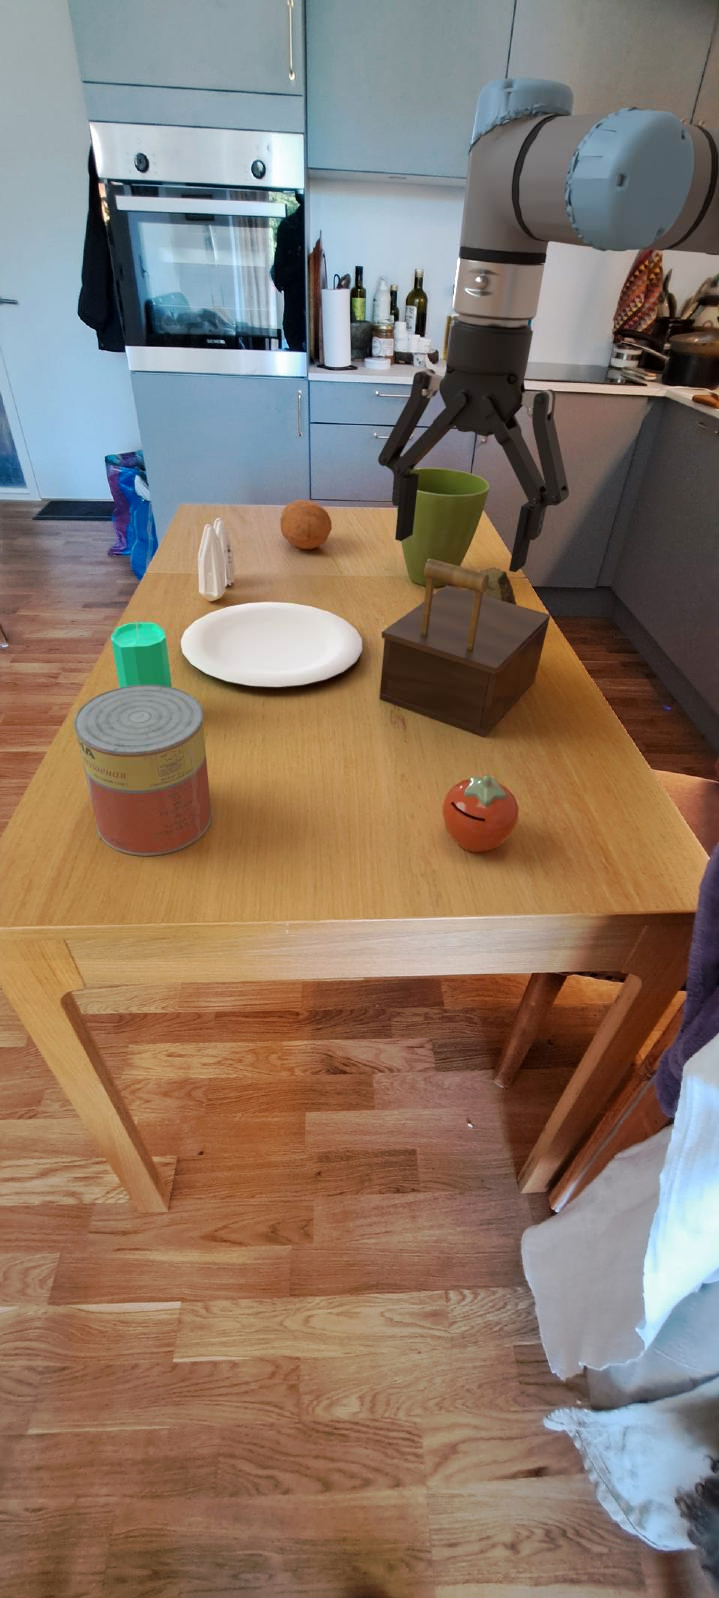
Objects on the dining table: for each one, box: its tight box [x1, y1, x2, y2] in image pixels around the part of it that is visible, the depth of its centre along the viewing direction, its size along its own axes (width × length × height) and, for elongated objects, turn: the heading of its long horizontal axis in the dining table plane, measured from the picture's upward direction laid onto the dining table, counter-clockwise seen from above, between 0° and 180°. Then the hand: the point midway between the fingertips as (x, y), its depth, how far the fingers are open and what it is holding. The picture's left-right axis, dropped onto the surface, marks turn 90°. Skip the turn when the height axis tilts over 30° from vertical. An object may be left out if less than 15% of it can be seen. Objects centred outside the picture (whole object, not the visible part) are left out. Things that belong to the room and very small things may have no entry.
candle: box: [110, 620, 173, 688], centre depth 84 cm, size 6×6×12 cm
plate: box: [180, 601, 363, 689], centre depth 102 cm, size 25×25×2 cm
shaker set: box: [197, 517, 235, 602], centre depth 113 cm, size 12×4×11 cm, turn 177°
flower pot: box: [396, 467, 491, 588], centre depth 121 cm, size 15×15×16 cm
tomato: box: [442, 774, 520, 853], centre depth 71 cm, size 7×7×8 cm
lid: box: [381, 559, 551, 674], centre depth 88 cm, size 18×15×10 cm
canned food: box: [73, 685, 213, 857], centre depth 70 cm, size 11×11×12 cm
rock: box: [461, 567, 517, 605], centre depth 111 cm, size 11×9×10 cm
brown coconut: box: [279, 499, 333, 550], centre depth 132 cm, size 9×11×8 cm
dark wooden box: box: [379, 620, 550, 738], centre depth 94 cm, size 17×15×9 cm
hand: (458, 552), depth 80 cm, fingers open, 13 cm apart
